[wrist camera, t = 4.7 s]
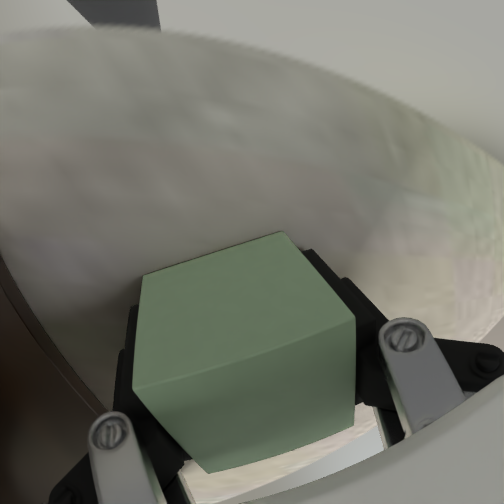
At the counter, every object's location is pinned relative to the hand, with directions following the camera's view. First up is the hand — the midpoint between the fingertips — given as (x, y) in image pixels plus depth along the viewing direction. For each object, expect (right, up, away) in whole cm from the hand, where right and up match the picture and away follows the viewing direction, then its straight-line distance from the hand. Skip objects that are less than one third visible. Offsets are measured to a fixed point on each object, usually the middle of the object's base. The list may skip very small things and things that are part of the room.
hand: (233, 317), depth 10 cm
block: (0, 0, 0) cm, 0 cm away
